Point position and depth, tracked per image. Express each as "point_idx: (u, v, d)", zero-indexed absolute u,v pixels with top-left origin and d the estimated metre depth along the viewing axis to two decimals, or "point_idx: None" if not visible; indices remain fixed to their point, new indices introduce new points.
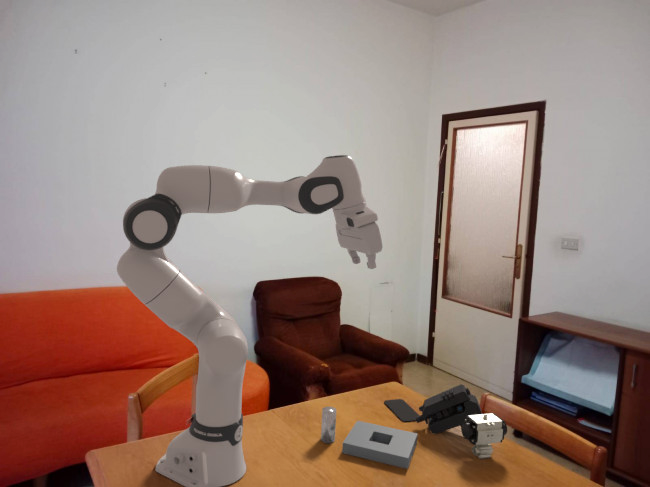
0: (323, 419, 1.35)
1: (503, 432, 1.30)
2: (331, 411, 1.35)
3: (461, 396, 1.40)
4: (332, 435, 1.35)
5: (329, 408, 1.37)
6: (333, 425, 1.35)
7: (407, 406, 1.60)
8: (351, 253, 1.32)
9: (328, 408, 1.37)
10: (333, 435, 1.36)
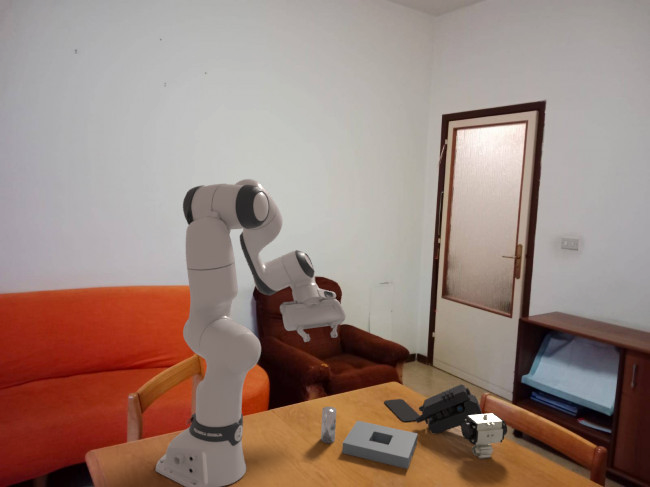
0: (323, 419, 1.35)
1: (503, 432, 1.30)
2: (331, 411, 1.35)
3: (461, 396, 1.40)
4: (332, 435, 1.35)
5: (329, 408, 1.37)
6: (333, 425, 1.35)
7: (407, 406, 1.60)
8: None
9: (328, 408, 1.37)
10: (333, 435, 1.36)
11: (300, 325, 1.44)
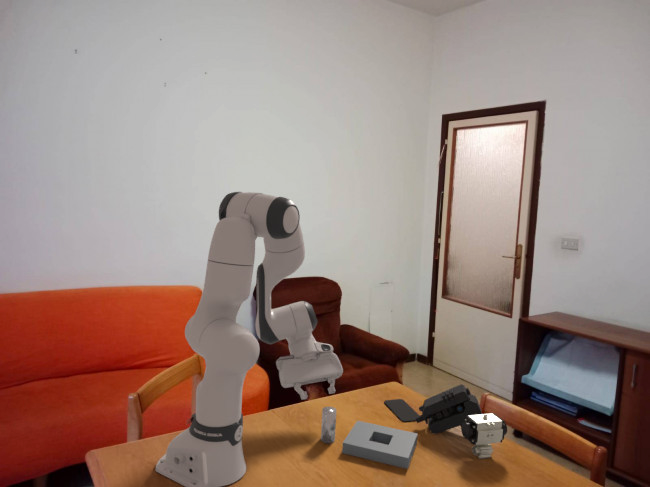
0: (323, 419, 1.35)
1: (503, 432, 1.30)
2: (331, 411, 1.35)
3: (461, 396, 1.40)
4: (332, 435, 1.35)
5: (329, 408, 1.37)
6: (333, 425, 1.35)
7: (407, 406, 1.60)
8: None
9: (328, 408, 1.37)
10: (333, 435, 1.36)
11: (297, 382, 1.40)
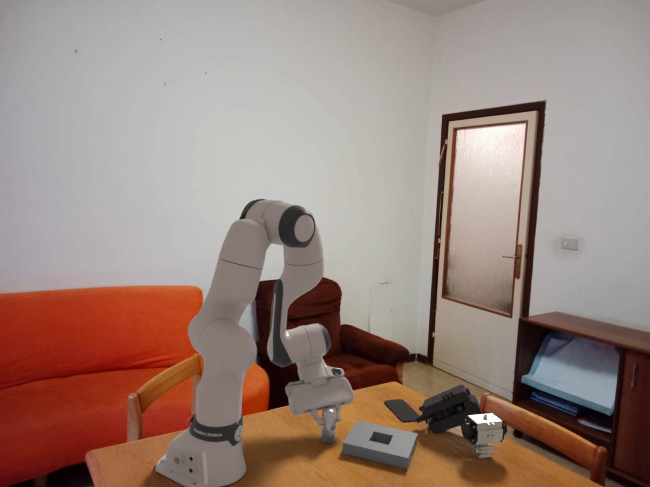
0: None
1: (503, 432, 1.30)
2: (331, 411, 1.35)
3: (461, 396, 1.40)
4: (332, 435, 1.35)
5: (329, 408, 1.37)
6: (333, 425, 1.35)
7: (407, 406, 1.60)
8: None
9: (328, 408, 1.37)
10: (333, 435, 1.36)
11: (307, 409, 1.35)
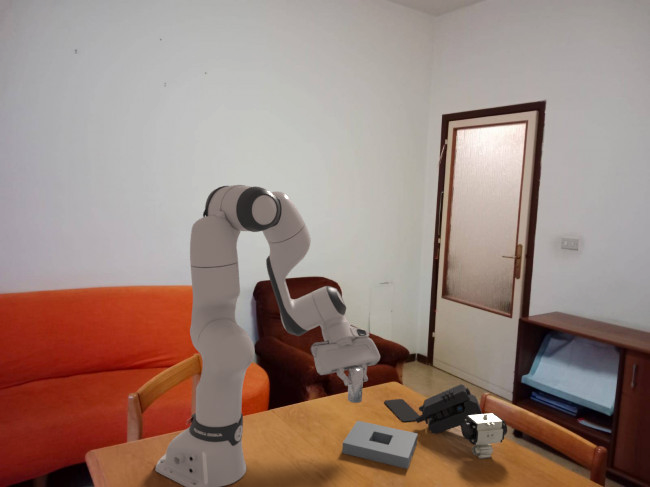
0: None
1: (503, 432, 1.30)
2: (358, 370, 1.33)
3: (461, 396, 1.40)
4: (360, 394, 1.33)
5: (356, 367, 1.35)
6: (360, 384, 1.33)
7: (407, 406, 1.60)
8: None
9: (355, 368, 1.35)
10: (360, 394, 1.34)
11: (334, 369, 1.32)
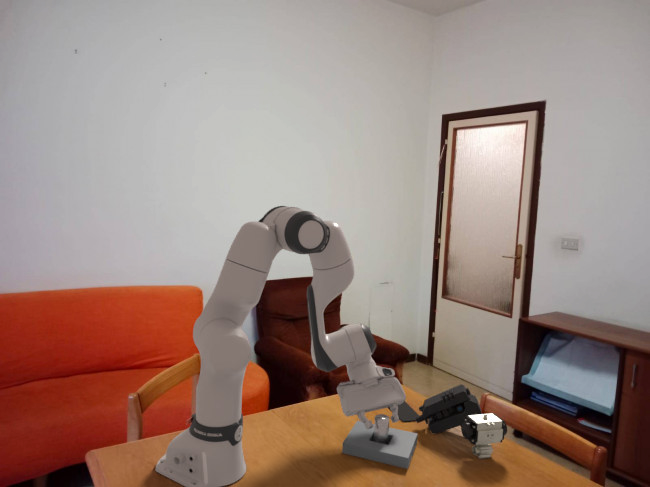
0: (376, 427, 1.32)
1: (503, 432, 1.30)
2: (385, 419, 1.32)
3: (461, 396, 1.40)
4: (386, 443, 1.32)
5: (381, 416, 1.34)
6: (386, 433, 1.32)
7: (407, 406, 1.60)
8: None
9: (381, 416, 1.34)
10: (386, 443, 1.32)
11: (361, 410, 1.31)
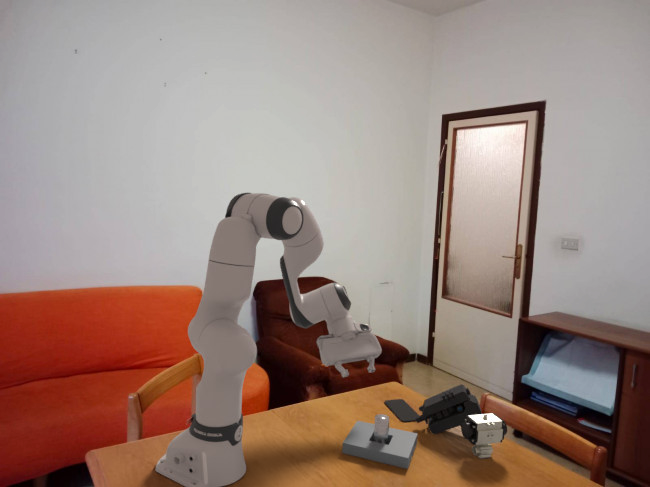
0: (376, 427, 1.32)
1: (503, 432, 1.30)
2: (385, 419, 1.32)
3: (461, 396, 1.40)
4: (386, 443, 1.32)
5: (382, 416, 1.34)
6: (386, 433, 1.32)
7: (407, 406, 1.60)
8: None
9: (381, 416, 1.34)
10: (386, 443, 1.32)
11: (338, 360, 1.41)
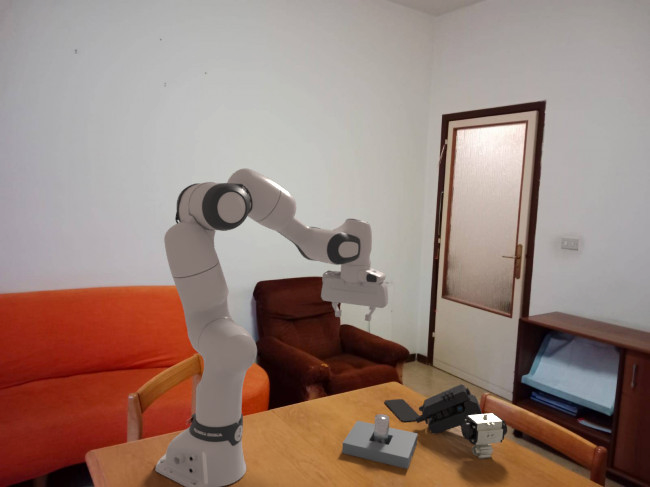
0: (376, 427, 1.32)
1: (503, 432, 1.30)
2: (385, 419, 1.32)
3: (461, 396, 1.40)
4: (386, 443, 1.32)
5: (381, 416, 1.34)
6: (386, 433, 1.32)
7: (407, 406, 1.60)
8: (335, 307, 1.45)
9: (381, 416, 1.34)
10: (386, 443, 1.32)
11: (333, 301, 1.44)
